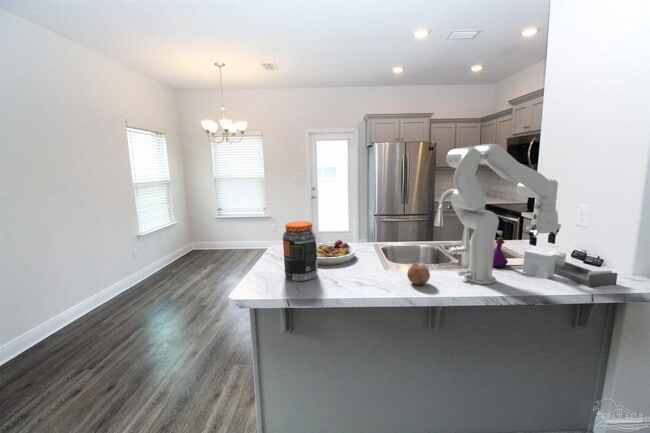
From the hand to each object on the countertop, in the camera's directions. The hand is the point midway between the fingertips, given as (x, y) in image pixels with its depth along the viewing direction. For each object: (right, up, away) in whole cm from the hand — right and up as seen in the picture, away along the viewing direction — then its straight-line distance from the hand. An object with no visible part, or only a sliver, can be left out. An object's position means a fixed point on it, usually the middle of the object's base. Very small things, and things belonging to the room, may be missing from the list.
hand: (542, 244), depth 137 cm
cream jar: (+13, -12, +8) cm, 20 cm away
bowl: (-97, -11, +34) cm, 104 cm away
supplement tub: (-111, -16, +7) cm, 113 cm away
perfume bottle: (-12, -12, +15) cm, 23 cm away
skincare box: (0, -14, +2) cm, 15 cm away
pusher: (+16, -15, -11) cm, 25 cm away
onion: (-59, -17, -6) cm, 61 cm away
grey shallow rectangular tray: (+14, -14, 0) cm, 20 cm away
